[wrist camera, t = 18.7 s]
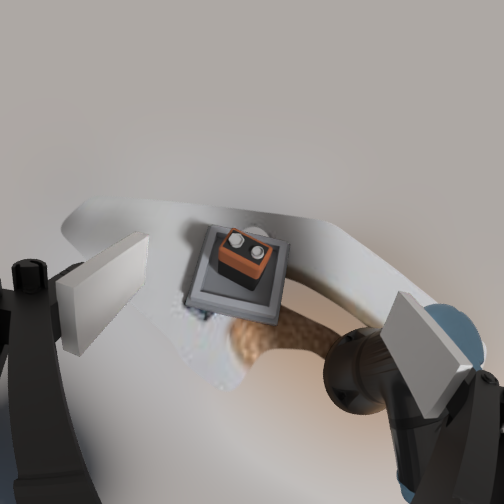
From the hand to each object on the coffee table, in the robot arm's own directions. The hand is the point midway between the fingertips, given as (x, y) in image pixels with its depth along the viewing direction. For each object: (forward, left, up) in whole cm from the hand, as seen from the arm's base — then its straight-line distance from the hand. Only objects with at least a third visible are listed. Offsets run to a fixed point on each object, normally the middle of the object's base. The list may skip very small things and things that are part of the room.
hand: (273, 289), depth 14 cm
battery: (+15, +2, -33) cm, 36 cm away
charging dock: (+15, +2, -34) cm, 37 cm away
